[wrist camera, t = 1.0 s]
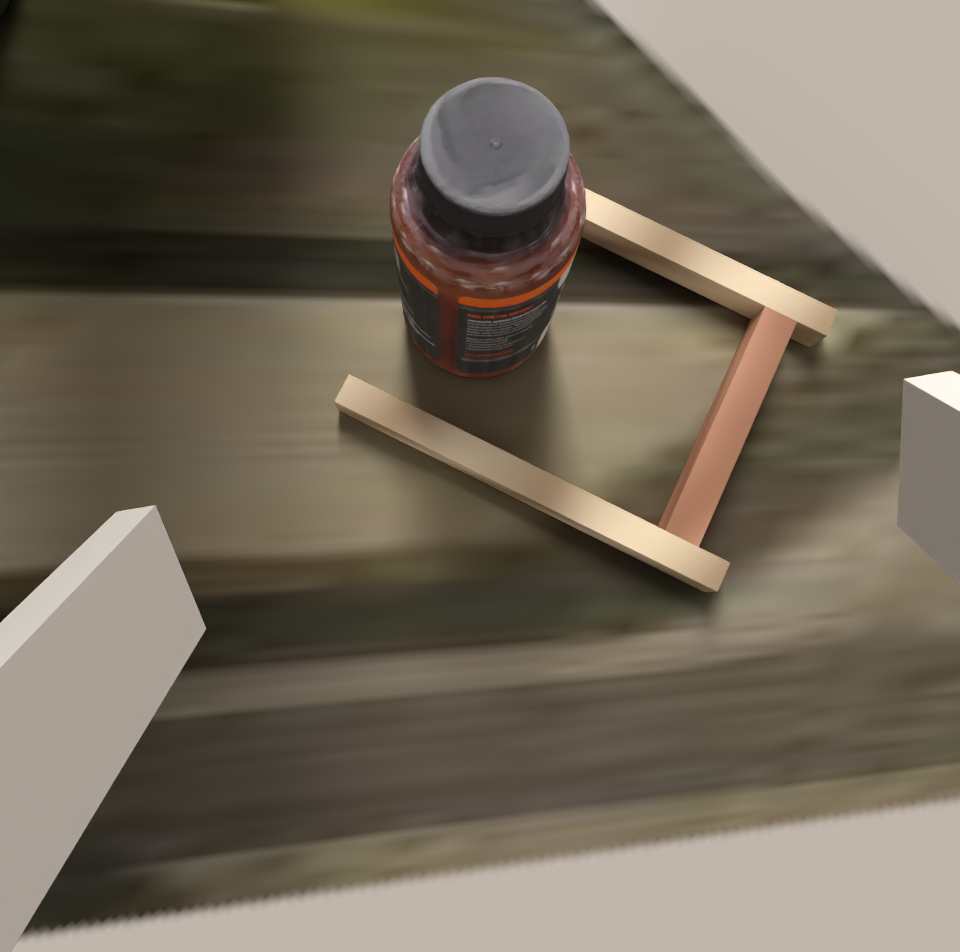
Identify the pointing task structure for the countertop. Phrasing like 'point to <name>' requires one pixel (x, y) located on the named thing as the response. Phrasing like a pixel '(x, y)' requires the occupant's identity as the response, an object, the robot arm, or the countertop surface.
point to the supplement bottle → (485, 225)
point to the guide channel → (718, 441)
